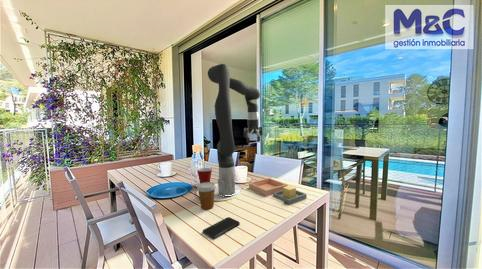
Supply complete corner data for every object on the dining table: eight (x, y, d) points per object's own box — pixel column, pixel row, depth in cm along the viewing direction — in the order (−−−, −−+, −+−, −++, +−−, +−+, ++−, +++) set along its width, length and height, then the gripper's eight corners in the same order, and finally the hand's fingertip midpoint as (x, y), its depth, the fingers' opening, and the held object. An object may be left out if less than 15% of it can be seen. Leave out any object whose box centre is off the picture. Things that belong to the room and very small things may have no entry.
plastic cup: (214, 183, 143) (214, 166, 142) (211, 188, 132) (210, 170, 131) (199, 183, 144) (199, 166, 143) (194, 188, 134) (194, 170, 132)
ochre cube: (289, 198, 112) (289, 189, 111) (283, 195, 116) (283, 187, 115) (295, 196, 114) (295, 187, 114) (289, 193, 119) (289, 185, 118)
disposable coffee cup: (209, 201, 113) (208, 180, 112) (220, 206, 106) (219, 184, 105) (194, 207, 106) (193, 185, 105) (204, 213, 99) (203, 189, 98)
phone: (240, 222, 89) (213, 238, 78) (240, 225, 89) (213, 241, 78) (228, 216, 94) (201, 230, 83) (228, 218, 94) (201, 233, 83)
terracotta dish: (266, 197, 116) (266, 190, 116) (249, 188, 131) (248, 182, 130) (287, 190, 125) (287, 184, 125) (269, 183, 140) (269, 177, 139)
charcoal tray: (288, 204, 106) (288, 200, 106) (273, 197, 117) (273, 193, 116) (306, 198, 114) (306, 194, 114) (290, 191, 124) (290, 187, 124)
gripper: (257, 118, 146) (258, 141, 148) (241, 119, 138) (241, 143, 140) (264, 118, 140) (264, 142, 141) (247, 119, 132) (248, 144, 134)
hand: (253, 142), depth 141 cm, fingers open, 8 cm apart
